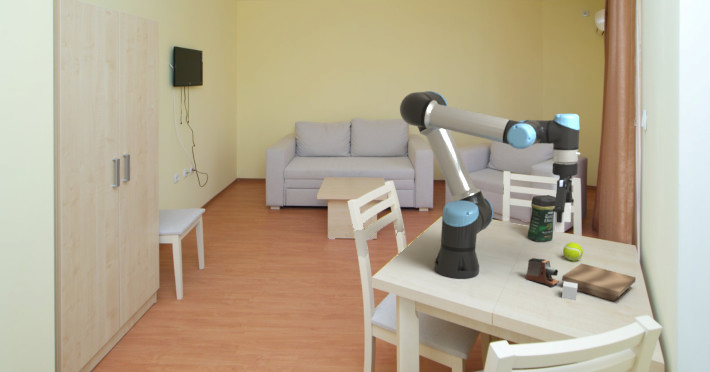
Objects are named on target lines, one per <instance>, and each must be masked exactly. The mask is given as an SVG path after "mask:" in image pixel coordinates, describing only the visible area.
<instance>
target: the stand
mask: <svg viewBox="0 0 710 372" xmlns="http://www.w3.org/2000/svg"><path fill="white" fill-rule="evenodd" d="M561 278H562V279H561V281H563V282H564V281H565V282H571V283H578V286H577V292H581V293H584V294H588V295H591V296H594V297H598V298H602V299H606V300H609V301H612V302H615V301H616V300H617V299H618V298H619V297H621V296H622V294H623V293H625V292H626V291H627V290H628V289H629V288H630V287H631V286H632V285H634V284H635V282H636V279H637V278H636V276H632V275H628V274H624V273H621V272H616V271H612V270H609V269H605V268H600V267H599V266H598V267H597V266H594V265H589V264H586V263H580V264H579V265H577V266H575V267H574V268H572V269H571V270H569V271H568V272H566V273H565V274H563V275H562V277H561Z"/></svg>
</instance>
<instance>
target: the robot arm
mask: <svg viewBox="0 0 710 372" xmlns="http://www.w3.org/2000/svg"><path fill="white" fill-rule="evenodd" d="M399 105H400V106H399V113H400V117H401V118H402V120H403V122H405V123H406V124H408V125H410V126H414V127H417V129H418V131H419V133H420V135H423V136H425V137H426V139H427V141H428V143H429V146H430V148H431V150H432V153H433V155H434V157H435V160H436V162H437V164H438V167H439V170H440V172H441V174H442V176H443V179H444V180H445V184H446V185H447V187H448V189H449V192H450V195H451V200H450V201H449V202H448V203H446V204H445V205H444V206H443V209H442V215H441V237H440V238H441V239H440V249H439V250H438V253H437V256H436V258H435V261H434V271H435V272H436V273H437V274H439V275H441V276H445V277H448V278H452V279H471V278H475V277H477V276H478V275H479V274H480V264H479V263H480V262H479V260H478V256H477V252H476V247H477V246H476V245H477V243H476V242H477V234H479V233H480V232H482V231H484V230H485V229H486V228H488V226H490V225H491V222H492V221H493V220H494V215H495V213H494V212H495V211H494V207H493V205H492V203H491V202H490V200H488V199H487V198H485V197H484V195H483V193H482V191H481V189H479V188H477V187H475V185H474V183H473V181H472V178H471V176H470V173H469V171H468V169H467V167H466V165H465V162H464V160H463V158H462V156H461V153H460V151H459V148H458V146H457V143H456V142H455V139H454V137H453V135H452V132H454V133H460V134H463V135H469V136H473V137H475V138H476V137H477V138H481V139H486V140H489V141H494V142H498V143H503V144H505V145H509V146H511V147H512V148H514V149H517V150H519V149H520V150H524V149H527V148H530V147H531V146H533V145H536V144H548V145H550V144H552V145H553V148H552V161H553V163H552V169H551V170H552V175H554V176H558V177H559V179H558V180H557V181H556V192H555V198H556V200H555V208H554V209H553V212H554V232H555V233H565V223H571V219H572V204H573V203H574V202H575V200H574V198H573V186H572V185H573V179H572V178H573V176H576V175H578V173H579V172H578V170H579V164H578V161H579V156H581V152H579V143H580V141H579V140H580V129H581V128H580V116H579V115H578V114H577V113H557V114H555V115H554V117H553V119H551V120H539V119H536V120H535V119H531V120H530V119H525V120H513V119H512V120H511V119H509V118H504V117H499V116H495V115H489V114H485V113H480V112H475V111H472V110H466V109H462V108H458V107H453V106H449V103H448V101H447V100H446V98H445V97H444V96H443V95H442V94H441V93H439V92H435V91H419V92H418V91H417V92H411V93H408V94H407V95H406V96H404V98H403V99H402V101H401V103H400V104H399ZM451 131H452V132H451Z"/></svg>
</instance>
